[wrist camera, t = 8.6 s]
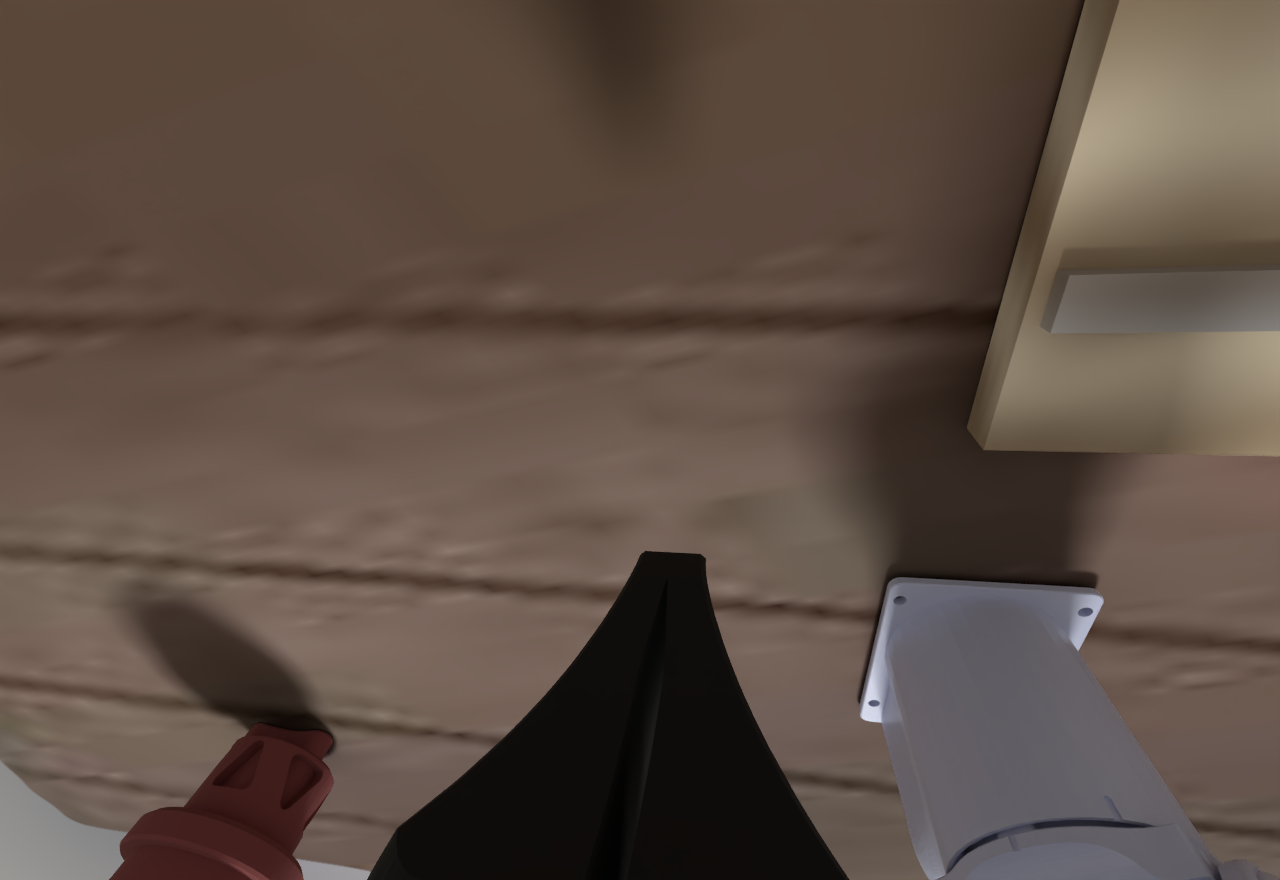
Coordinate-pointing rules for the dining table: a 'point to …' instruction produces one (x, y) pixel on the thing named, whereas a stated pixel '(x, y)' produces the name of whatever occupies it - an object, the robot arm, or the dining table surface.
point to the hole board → (1149, 244)
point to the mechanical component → (237, 814)
